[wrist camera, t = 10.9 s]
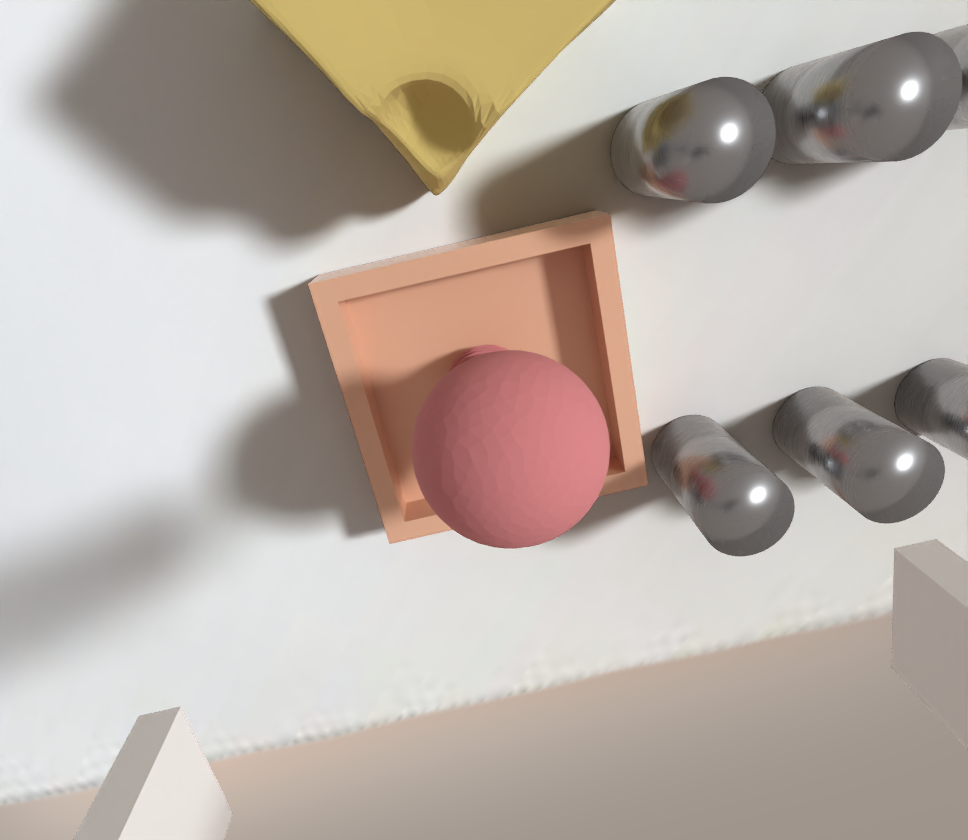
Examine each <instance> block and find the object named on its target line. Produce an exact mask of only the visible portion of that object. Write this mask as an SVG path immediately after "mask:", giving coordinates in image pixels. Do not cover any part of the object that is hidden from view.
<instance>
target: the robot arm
mask: <svg viewBox="0 0 968 840" xmlns="http://www.w3.org/2000/svg"><path fill="white" fill-rule="evenodd" d="M891 668H892V669H893V670H894V671H895V672H896V673H897V674H898V675H899V676H900V678H901V679H902V680H903V681H904V682H905V683H906V684H907V685H908V686H909V687H910V688H911V689H912V690H913V692H914V693H915V694H916V695H917V696H918V697H919V698H920V699H921V700H922V701H923V702H924V703H925V704H926V706H928V708H929V709H930V710H931V711H932V712H933V713H934V714H935V715H936V716H937V717H938V718H939V719H940V721H941V722H942V723H943V724H944V725H945V726H946V727H947V728H948V729H949V730H950V731H951V733H952V734H953V735H954V736H955V737H956V738H957V739H958V740H959V741H960V742H961V743H962V744H963V745H964V747H965V748H967V750H968V562H967V561H965V560H964V559H963V558H961V557H960V556H959V555H957V554H956V553H954V552H953V551H952V550H950V549H949V548H948V547H946V546H945V545H943V544H942V543H941V542H939V541H938V540H937V539H935V540H930V541H926V542H921V543H917V544H912V545H908V546H903V547H899V548H894V577H893V614H892V651H891ZM232 814H233V812H232V810H231V808H230V806H229V804H228V802H227V800H226V798H225V796H224V794H223V792H222V790H221V788H220V786H219V784H218V782H217V780H216V778H215V776H214V774H213V772H212V770H211V768H210V766H209V764H208V761H207V759H206V757H205V755H204V753H203V751H202V749H201V747H200V745H199V743H198V741H197V739H196V737H195V735H194V733H193V731H192V729H191V727H190V725H189V723H188V721H187V719H186V717H185V715H184V713H183V711H182V709H181V707H177V708H173V709H168V710H164V711H159V712H155V713H150V714H146V715H141V716H139V717H138V719H137V721H136V722H135V724H134V726H133V728H132V730H131V732H130V734H129V735H128V737H127V739H126V741H125V743H124V745H123V747H122V749H121V750H120V752H119V754H118V756H117V758H116V760H115V762H114V764H113V765H112V767H111V769H110V771H109V773H108V775H107V777H106V778H105V780H104V782H103V784H102V786H101V788H100V790H99V792H98V794H97V795H96V797H95V799H94V801H93V803H92V805H91V806H90V808H89V810H88V812H87V814H86V816H85V818H84V820H83V821H82V824H81V825H80V827H79V829H78V831H77V833H76V835H75V837H74V838H73V840H225V837H226V834H227V831H228V827H229V824H230V821H231V818H232Z"/></svg>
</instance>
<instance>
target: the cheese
mask: <svg viewBox="0 0 968 840" xmlns="http://www.w3.org/2000/svg"><path fill="white" fill-rule="evenodd" d="M249 1H250V2H252V3H253V4H254V5H255V6H256V7H257V8H258V9H259V10H260V11H261V12H262V13H263V14H264V15H265V16H266V17H267V18H268V19H270V20H271V21H272V22H273V23H274V24H275V25H276V26H277V27H278V28H279V29H280V30H282V31H283V32H284V33H285V34H286V35H287V36H288V37H289V38H290V39H291V40H292V41H293V42H294V43H295V44H296V45H297V46H298V47H299V48H300V49H301V50H302V51H303V52H304V53H305V54H306V55H307V56H308V57H309V58H310V60H311V61H312V62H313V63H314V64H315V65H316V66H317V67H318V68H319V69H320V70H321V71H322V72H323V73H324V74H325V75H326V77H327V78H328V79H329V80H330V81H331V82H332V83H333V84H334V85H335V86H336V88H337V89H338V90H339V91H340V92H341V93H342V94H343V95H344V97H345V98H346V99H347V100H348V101H349V102H350V103H351V104H352V105H353V106H354V107H355V108H357V109H358V110H359V111H360V112H361V113H362V114H364V115H365V116H367V117H368V118H370V119H371V120H372V121H373V122H374V123H375V124H376V125H377V126H378V128H379V129H380V130H381V131H382V132H383V133H384V134H385V136H386V137H387V138H388V139H389V140H390V141H391V143H392V144H393V145H394V146H395V147H396V149H397V150H398V151H399V152H400V153H401V155H402V156H403V157H404V158H405V160H406V161H407V162H408V163H409V165H410V166H411V167H412V169H413V170H414V171H415V172H416V174H417V175H418V176H419V178H420V179H421V180H422V182H423V183H424V184H425V185H426V187H427V188H428V189H429V190H430V191H431V192H432V193H433V194H434V195H439V194H440V193H441V192H442V191H443V190H445V188H446V187H447V186H448V185H449V184H450V183H451V182H452V180H453V179H454V177H455V176H456V174H457V173H458V171H459V170H460V168H461V166H462V165H463V163H464V162H465V160H466V159H467V157H468V156H469V155H470V153H471V152H472V151H473V150H474V148H475V147H476V146H477V145H478V144H479V142H480V141H481V140H482V139H483V137H484V136H485V135H486V134H487V133H488V131H489V130H490V129H491V128H492V127H493V125H494V124H495V123H496V122H497V121H498V120H499V118H500V117H501V116H502V115H503V114H504V112H505V111H506V110H507V109H508V108H509V107H510V106H511V105H512V104H513V103H514V101H515V100H516V99H517V98H518V97H519V96H520V95H521V94H522V93H523V92H524V91H525V90H526V89H527V87H528V86H529V85H530V84H531V83H532V82H533V81H534V80H535V79H536V78H537V77H538V76H539V75H540V73H541V72H542V71H543V70H544V69H545V68H546V67H547V66H548V65H549V64H550V63H551V62H552V61H553V60H554V58H555V57H556V56H557V55H558V54H559V53H560V52H561V51H562V50H563V49H564V48H565V47H566V46H567V45H568V44H569V43H570V42H572V41H573V40H574V39H575V38H576V37H577V36H578V35H579V34H580V33H581V32H583V31H584V30H585V29H586V28H587V27H588V26H589V25H590V24H591V23H592V22H594V21H595V20H596V19H597V18H598V17H599V16H600V15H601V14H602V13H603V12H604V11H605V10H606V9H607V8H608V7H609V6H610V5H611V4H612V3H613V2H614V1H616V0H249Z"/></svg>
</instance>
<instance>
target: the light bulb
mask: <svg viewBox="0 0 968 840" xmlns="http://www.w3.org/2000/svg"><path fill="white" fill-rule="evenodd" d="M609 458H610V441H609V433H608V428H607V424H606V420H605V417H604V414H603V412H602V409H601V407H600V405H599V403H598V401H597V399H596V398H595V396H594V395H593V393H592V392H591V391H590V389H589V388H588V387H587V386H586V384H585V383H584V382H583V381H582V380H581V379H580V378H579V377H578V376H577V375H576V374H574V373H573V372H572V371H571V370H570V369H568V368H567V367H565V366H564V365H562V364H560V363H558V362H557V361H555V360H553V359H551V358H548V357H546V356H543V355H540V354H537V353H532V352H527V351H521V350H508V349H506V348H503V347H500V346H497V345H488V344H487V345H481V346H476V347H473V348H471V349H468V350H466V351H465V352H463V353H462V354H461V355H459V356H458V357H457V358H456V360H455V361H454V362H453V364H452V366H451V368H450V370H449V372H448V373H447V374H446V375H444V376H443V377H442V378H441V379H440V380H439V381H438V382H437V384H436V385H435V386H434V387H433V389H432V390H431V391H430V392H429V394H428V395H427V397H426V399H425V401H424V402H423V404H422V406H421V409H420V411H419V413H418V415H417V419H416V422H415V426H414V431H413V437H412V460H413V467H414V472H415V476H416V479H417V482H418V485H419V487H420V490H421V492H422V494H423V496H424V498H425V500H426V501H427V503H428V504H429V506H430V507H431V508H432V510H433V511H434V512H435V514H436V515H437V516H438V517H439V518H440V519H441V520H442V521H443V522H445V523H446V524H447V525H448V526H449V527H450V528H451V529H453V530H454V531H456V532H457V533H459V534H461V535H462V536H464V537H466V538H468V539H470V540H473V541H475V542H477V543H480V544H484V545H488V546H492V547H498V548H522V547H530V546H535V545H539V544H541V543H544V542H547V541H550V540H552V539H554V538H556V537H558V536H560V535H562V534H563V533H565V532H566V531H568V530H569V529H571V528H572V527H573V526H574V525H575V524H577V523H578V522H579V521H580V520H581V519H582V518H583V517H584V516H585V515H586V513H587V512H588V511H589V510H590V508H591V507H592V505H593V504H594V502H595V501H596V499H597V498H598V496H599V494H600V491H601V489H602V487H603V484H604V481H605V478H606V475H607V471H608V466H609Z"/></svg>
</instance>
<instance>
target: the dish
mask: <svg viewBox="0 0 968 840" xmlns="http://www.w3.org/2000/svg"><path fill="white" fill-rule="evenodd" d="M308 286H309V289H310V292H311V295H312V299H313V302H314V305H315V308H316V311H317V315H318V318H319V321H320V324H321V327H322V330H323V334H324V337H325V340H326V343H327V346H328V349H329V353H330V356H331V359H332V362H333V365H334V369H335V372H336V375H337V378H338V381H339V384H340V388H341V391H342V394H343V397H344V400H345V403H346V407H347V410H348V413H349V416H350V419H351V423H352V426H353V429H354V432H355V435H356V438H357V442H358V445H359V448H360V451H361V454H362V458H363V461H364V464H365V467H366V470H367V473H368V477H369V480H370V483H371V486H372V489H373V492H374V496H375V499H376V502H377V505H378V508H379V512H380V515H381V518H382V521H383V524H384V527H385V531H386V534H387V537H388V540H389V543H390V544H392V543H396V542H400V541H405V540H409V539H414V538H418V537H422V536H427V535H431V534H436V533H440V532H444V531H449V530H453V529H451V528H450V527H449V526H448V525H447V524H446V523H445V522H443V521H442V520H441V519H440V518H439V517H438V516H437V515H436V514H435V512H434V511H433V510H432V508H431V507H430V506H429V504H428V503H427V501H426V500H425V498H424V496H423V494H422V492H421V490H420V487H419V485H418V482H417V479H416V476H415V472H414V467H413V460H412V437H413V431H414V426H415V422H416V419H417V415H418V413H419V411H420V409H421V406H422V404H423V402H424V401H425V399H426V397H427V395H428V394H429V392H430V391H431V390H432V389H433V387H434V386H435V385H436V384H437V382H438V381H439V380H440V379H441V378H442V377H443V376H444V375H446V374H447V373H448V372H449V370H450V368H451V366H452V364H453V362H454V361H455V360H456V358H457V357H458V356H459V355H461V354H462V353H463V352H465V351H466V350H468V349H471V348H473V347H476V346H481V345H487V344H488V345H497V346H500V347H503V348H506V349H508V350H521V351H527V352H532V353H537V354H540V355H543V356H546V357H548V358H551V359H553V360H555V361H557V362H558V363H560V364H562V365H564V366H565V367H567V368H568V369H570V370H571V371H572V372H573V373H574V374H576V375H577V376H578V377H579V378H580V379H581V380H582V381H583V382H584V383H585V384H586V386H587V387H588V388H589V389H590V391H591V392H592V393H593V395H594V396H595V398H596V399H597V401H598V403H599V405H600V407H601V409H602V412H603V414H604V417H605V420H606V424H607V428H608V433H609V441H610V458H609V466H608V471H607V475H606V478H605V481H604V484H603V487H602V489H601V491H600V494H599V496H603V495H608V494H612V493H616V492H621V491H625V490H630V489H634V488H639V487H643V486H647V485H648V480H647V473H646V466H645V459H644V452H643V444H642V437H641V430H640V423H639V416H638V409H637V402H636V395H635V388H634V380H633V373H632V366H631V359H630V352H629V345H628V338H627V331H626V324H625V317H624V309H623V302H622V295H621V288H620V281H619V274H618V267H617V260H616V253H615V245H614V238H613V231H612V224H611V217H610V214H609V213H605V212H601V211H596V210H595V211H591V212H587V213H582V214H578V215H574V216H570V217H565V218H561V219H557V220H552V221H548V222H544V223H539V224H535V225H531V226H527V227H522V228H518V229H514V230H509V231H505V232H501V233H496V234H492V235H488V236H484V237H479V238H475V239H471V240H466V241H462V242H458V243H453V244H449V245H445V246H441V247H436V248H432V249H428V250H423V251H419V252H415V253H411V254H406V255H402V256H398V257H393V258H389V259H385V260H380V261H376V262H372V263H368V264H363V265H359V266H355V267H350V268H346V269H342V270H337V271H333V272H329V273H325V274H320V275H318V276H317V277H315V278H314V279H313V280H312V281H311V282H310V283H309V284H308ZM599 496H598V497H599Z"/></svg>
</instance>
